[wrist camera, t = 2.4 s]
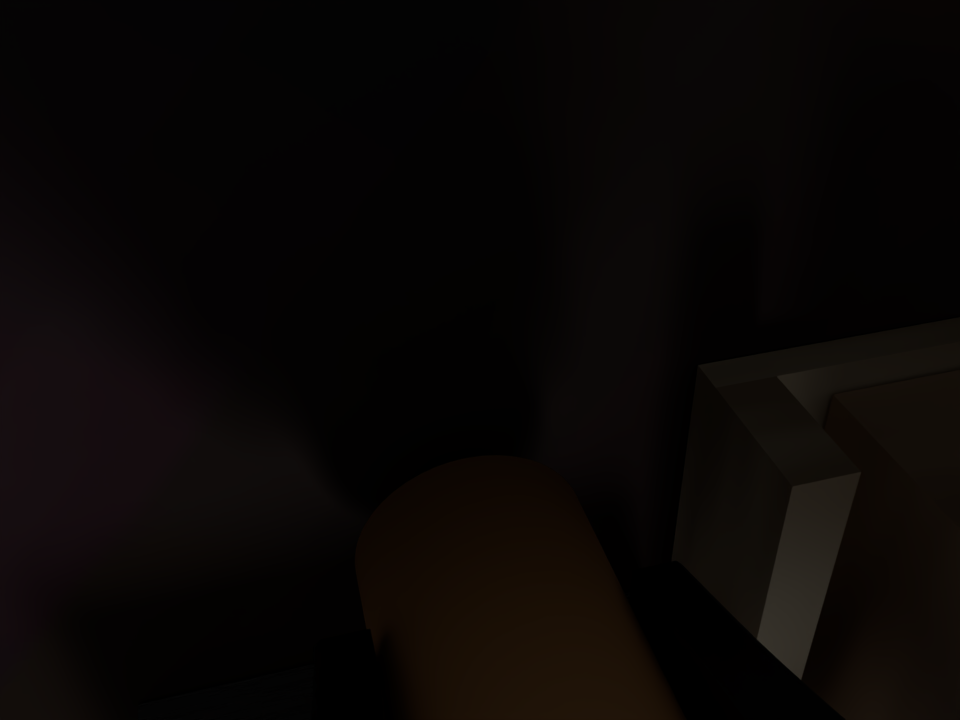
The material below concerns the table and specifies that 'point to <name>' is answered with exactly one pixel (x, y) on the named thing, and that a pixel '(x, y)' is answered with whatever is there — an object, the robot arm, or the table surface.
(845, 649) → the crate
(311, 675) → the grey rectangular frame
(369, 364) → the table surface
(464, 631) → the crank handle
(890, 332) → the bay
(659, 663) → the robot arm
